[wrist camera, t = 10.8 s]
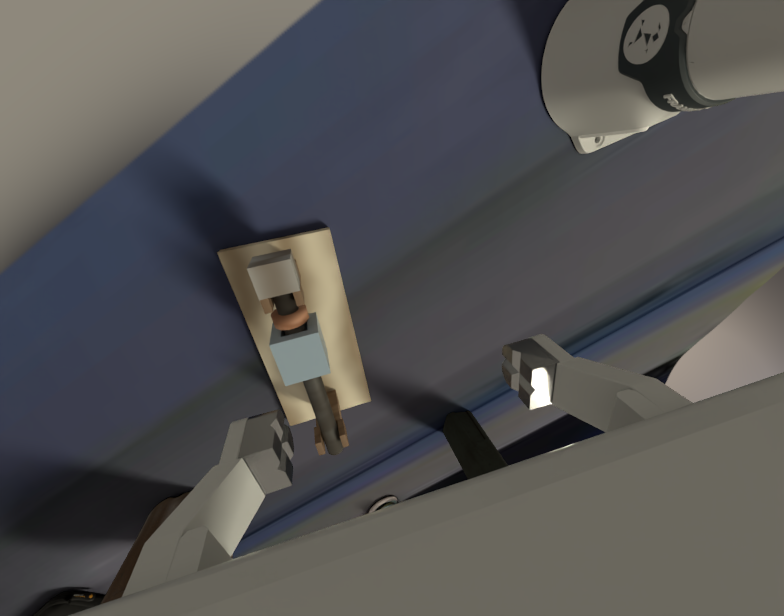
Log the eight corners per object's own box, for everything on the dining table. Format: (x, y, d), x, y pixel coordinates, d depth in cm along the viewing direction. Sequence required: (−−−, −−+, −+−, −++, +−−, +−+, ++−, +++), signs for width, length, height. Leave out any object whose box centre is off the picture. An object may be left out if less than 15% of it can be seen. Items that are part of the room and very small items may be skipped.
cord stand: (328, 227, 36) (338, 248, 28) (369, 395, 48) (385, 446, 40) (219, 250, 34) (193, 280, 25) (290, 419, 46) (289, 479, 37)
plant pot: (117, 549, 48) (42, 712, 34) (143, 474, 43) (69, 626, 29) (231, 550, 54) (208, 686, 40) (263, 485, 50) (250, 613, 36)
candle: (441, 434, 56) (532, 609, 34) (447, 412, 54) (547, 582, 32) (466, 431, 58) (569, 596, 36) (473, 410, 56) (585, 571, 34)
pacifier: (360, 512, 60) (380, 522, 63) (366, 547, 54) (387, 557, 57) (389, 488, 59) (408, 500, 62) (398, 521, 54) (418, 533, 56)
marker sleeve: (315, 311, 34) (318, 332, 30) (327, 349, 36) (330, 373, 32) (272, 322, 33) (269, 345, 29) (286, 360, 35) (285, 386, 31)
